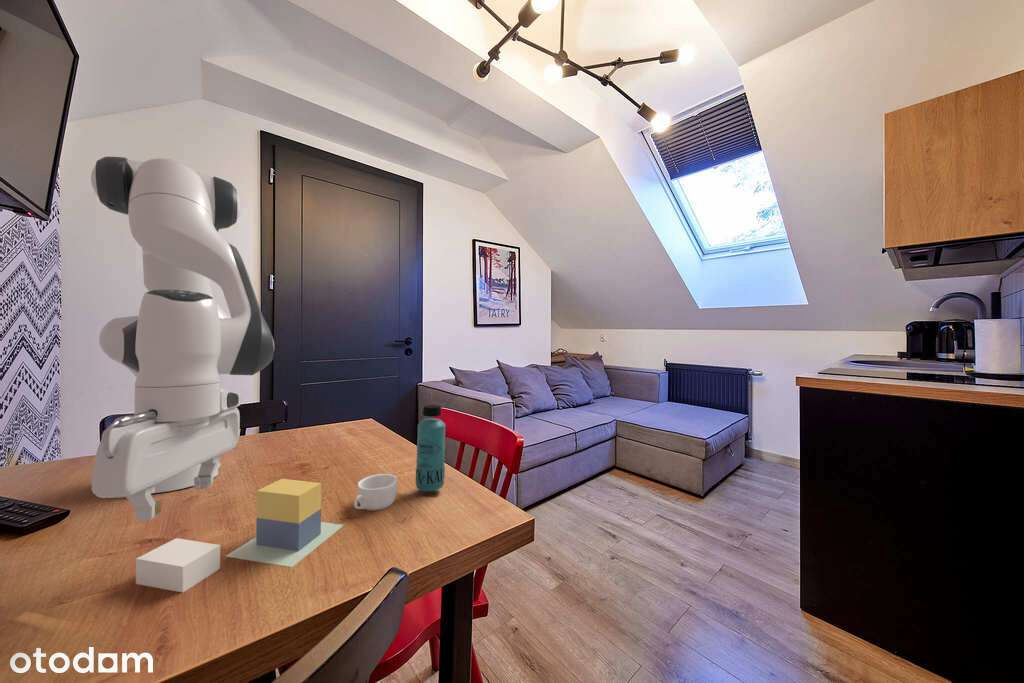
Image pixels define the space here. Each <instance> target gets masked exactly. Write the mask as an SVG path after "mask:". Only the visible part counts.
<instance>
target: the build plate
mask: <svg viewBox="0 0 1024 683" xmlns="http://www.w3.org/2000/svg"><path fill="white" fill-rule="evenodd" d="M344 526H345V525H344V524H340V523H339V524H338V523H332V522H324V521H321V534H320V535H319V536H318V537H316V538H315V539H314V540H312V541H311V542H310V543H309V544H307V545H306V546H305V547H303V548H302V549H301V550H299V551H294V550H287V549H281V548H274V547H268V546H261V545H256V536H255V537H254V538H252V539H250V540H249V541H247V542H246V543H243V545H241V546H239V547H237V548H236V549H234V550H233V551H231V552H229V553H228V554H226V555H225V557H226V558H227V557H228V558H233V559H238V560H239V559H240V560H245V561H251V562H257V563H263V564H268V565H274V566H282V567H286V568H293V567H294V566H295V565H297V564H298V563H299V562H300V561H302V560H303V559H304V558H305V557H307V556H308V555H309V554H310V553H312V552H313V551H314V550H315V549H317V548H318V547H319V546H320V545H322V544H323V543H325V541H326V540H328V539H329V538H330V537H331V536H333V535H334V534H335V533H337V532H338V531H339V530H340V529H342V528H343V527H344Z"/></svg>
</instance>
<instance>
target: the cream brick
mask: <svg viewBox="0 0 1024 683" xmlns="http://www.w3.org/2000/svg"><path fill="white" fill-rule="evenodd" d="M220 569H221V544H215V543H209V542H204V541H199V540H198V541H197V540H190V539H183V538H177V537H176V538H174V539H172V540H170V541H168V542H166V543H164V544H162V545H160V546H158V547H156V548H154V549H152V550H150V551H148V552H146V553H144V554H143V555H140V556H138V557H137V558H135V584H136V585H139V586H144V587H145V586H146V587H152V588H156V589H157V588H158V589H162V590H168V591H173V592H178V593H185V592H186V591H188V590H189V589H191V588H192V587H194V586H195V585H198V584H199V583H200V582H202V581H203V580H205V579H206V578H208V577H209V576H211V575H213V574H214V573H215V572H217V571H219V570H220Z"/></svg>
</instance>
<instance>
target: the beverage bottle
mask: <svg viewBox="0 0 1024 683" xmlns="http://www.w3.org/2000/svg"><path fill="white" fill-rule="evenodd" d="M441 415H442V406H441V405H439V404H426V405H424V406H423V412H422V416H425V417H431V418H424V419H422V420H420V422H419V423H418V424H417V441H416V442H417V443H416V448H415V449H416V454H415V456H416V457H415V459H416V460H415V462H416V466H415V486H416V489H417V490H419V491H422V492H433V491H434V492H435V491H437V490H440V489H441V488H442V487H443V486H444V484H445V482H444V481H445V474H446V471H445V470H446V465H445V458H446V456H445V455H446V449H445V447H446V446H445V445H446V443H445V442H446V440H445V439H446V423H445V422H444V421H443V420H442V419H440V418H432V417H439V416H441Z"/></svg>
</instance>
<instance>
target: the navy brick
mask: <svg viewBox="0 0 1024 683" xmlns="http://www.w3.org/2000/svg"><path fill="white" fill-rule="evenodd" d="M321 522H322V508H321V509H320V510H318V511H317V512H315V513H314V514H312V515H311V516H309V517H308V518H306V519H305V520H303V521H302V522H301V523H299V524H298V523H291V522H284V521H276V520H269V519H262V518H257V517H256V525H255V526H256V527H255V528H256V529H255V530H256V532H255V533H256V534H255V535H256V536H255V537H256V545H261V546H268V547H274V548H281V549H287V550H294V551H299V550H301V549H302V548H303V547H305V546H306V545H307V544H309V543H310V542H311V541H312V540H314V539H315V538H316V537H318V536H319V535H320V534H321Z"/></svg>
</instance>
